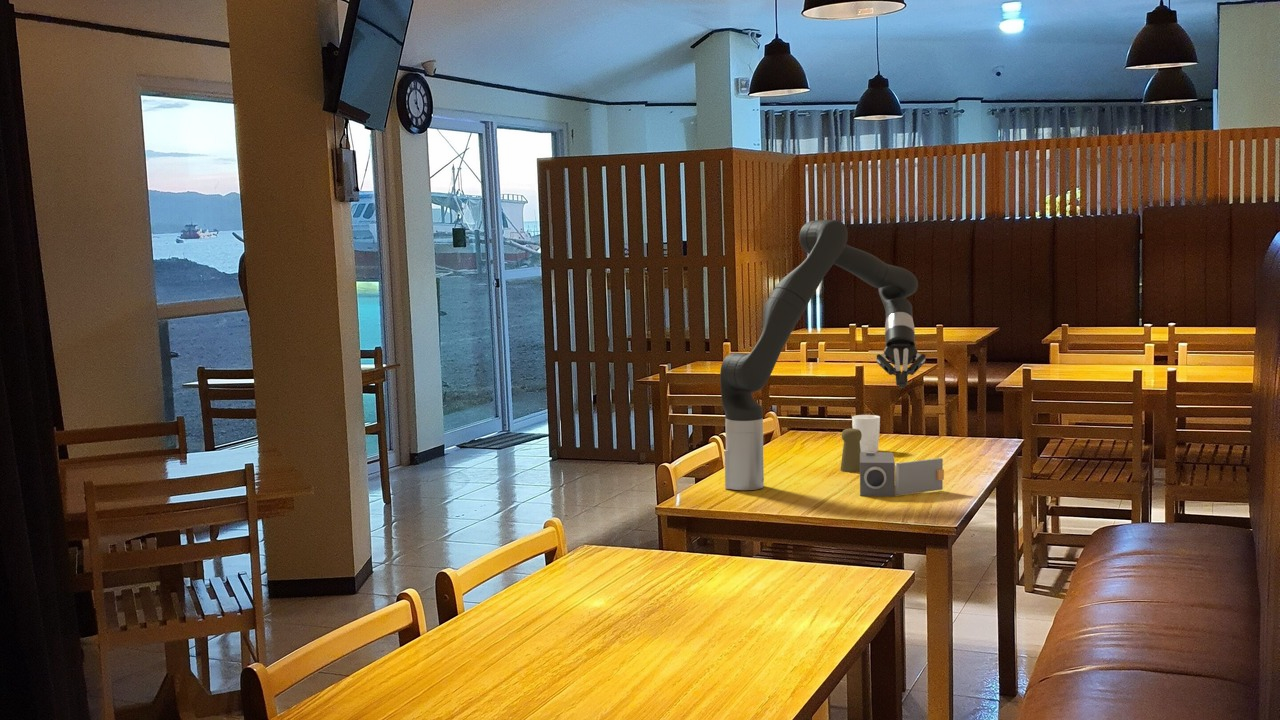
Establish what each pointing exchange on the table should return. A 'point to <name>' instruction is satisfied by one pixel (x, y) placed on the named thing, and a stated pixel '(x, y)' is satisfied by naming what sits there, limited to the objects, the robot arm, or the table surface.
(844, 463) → the cork
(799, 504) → the table surface
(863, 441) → the white cup
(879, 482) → the block
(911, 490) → the door
